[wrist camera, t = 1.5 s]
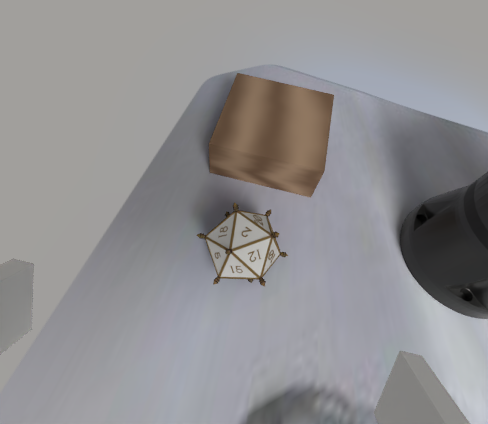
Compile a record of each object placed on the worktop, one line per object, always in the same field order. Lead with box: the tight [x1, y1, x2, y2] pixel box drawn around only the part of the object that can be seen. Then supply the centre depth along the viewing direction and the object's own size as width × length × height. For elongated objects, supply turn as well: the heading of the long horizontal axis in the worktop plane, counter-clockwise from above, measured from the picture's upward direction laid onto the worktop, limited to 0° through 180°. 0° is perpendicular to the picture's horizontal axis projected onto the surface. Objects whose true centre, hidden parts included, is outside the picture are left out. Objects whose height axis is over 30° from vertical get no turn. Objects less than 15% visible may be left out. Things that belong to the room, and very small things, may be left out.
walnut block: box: [209, 73, 334, 197], centre depth 41 cm, size 14×14×6 cm
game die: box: [197, 203, 288, 286], centre depth 31 cm, size 9×8×10 cm
